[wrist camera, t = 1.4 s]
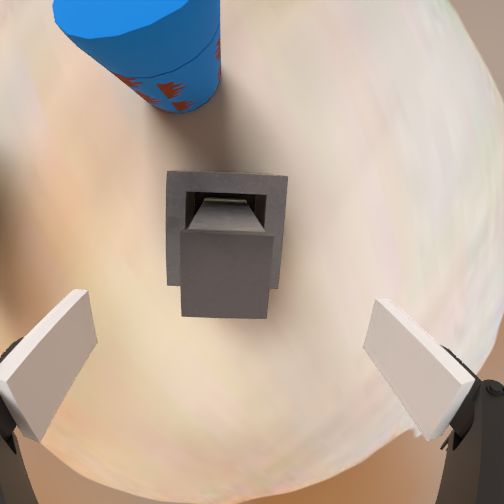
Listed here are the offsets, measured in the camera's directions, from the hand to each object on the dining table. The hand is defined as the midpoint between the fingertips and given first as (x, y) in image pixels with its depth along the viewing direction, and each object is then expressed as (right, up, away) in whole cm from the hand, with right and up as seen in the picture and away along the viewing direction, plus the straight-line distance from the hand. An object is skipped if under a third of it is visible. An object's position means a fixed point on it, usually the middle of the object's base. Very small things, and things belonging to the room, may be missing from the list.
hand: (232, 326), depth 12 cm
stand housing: (-3, +8, +27) cm, 28 cm away
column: (-3, +8, +27) cm, 28 cm away
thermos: (-9, +26, +21) cm, 35 cm away
